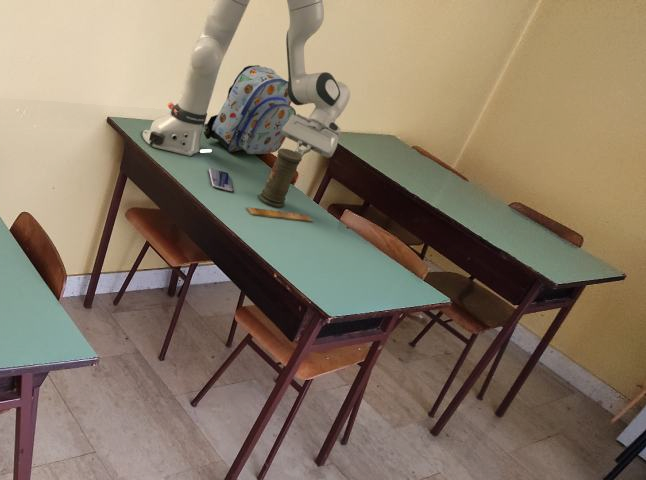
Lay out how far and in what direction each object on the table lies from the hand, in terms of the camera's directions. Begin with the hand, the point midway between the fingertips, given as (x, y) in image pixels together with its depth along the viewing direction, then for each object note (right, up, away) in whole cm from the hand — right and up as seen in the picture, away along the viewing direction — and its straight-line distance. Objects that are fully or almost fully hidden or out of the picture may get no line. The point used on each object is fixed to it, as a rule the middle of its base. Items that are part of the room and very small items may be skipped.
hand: (298, 154), depth 215 cm
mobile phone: (-27, -9, +2) cm, 29 cm away
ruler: (-7, -23, -6) cm, 25 cm away
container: (-9, -16, +1) cm, 19 cm away
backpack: (-16, +13, +37) cm, 42 cm away
